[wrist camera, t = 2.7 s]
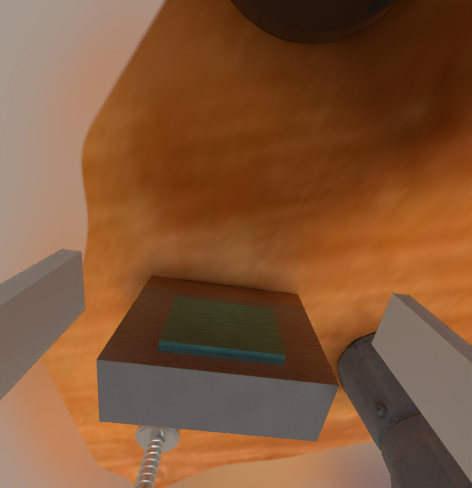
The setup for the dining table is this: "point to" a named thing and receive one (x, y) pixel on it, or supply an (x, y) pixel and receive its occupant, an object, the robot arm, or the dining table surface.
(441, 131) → the dining table surface
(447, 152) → the dining table surface
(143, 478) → the screw
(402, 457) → the moka pot
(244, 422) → the grey unit
